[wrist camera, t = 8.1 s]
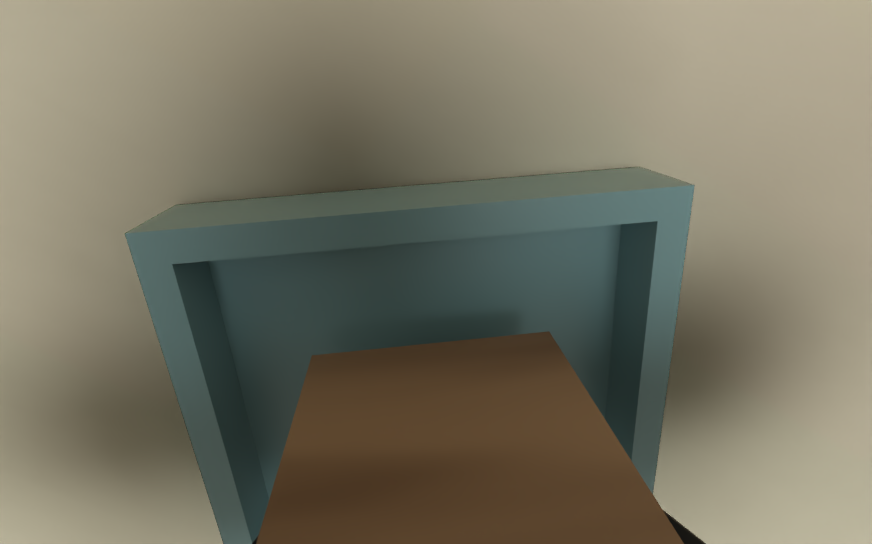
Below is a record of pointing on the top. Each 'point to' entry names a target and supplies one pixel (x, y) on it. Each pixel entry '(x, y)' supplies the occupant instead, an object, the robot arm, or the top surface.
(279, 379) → the teal tray
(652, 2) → the top surface
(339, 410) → the walnut block
